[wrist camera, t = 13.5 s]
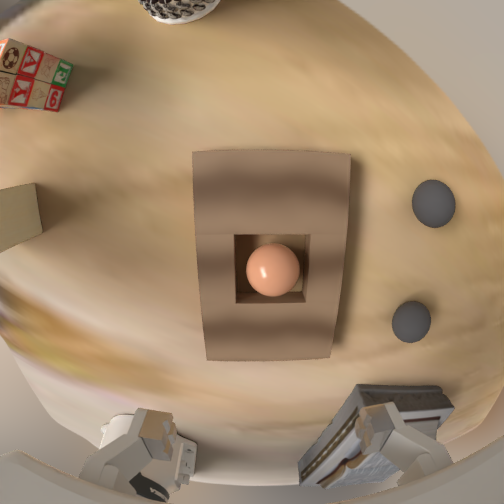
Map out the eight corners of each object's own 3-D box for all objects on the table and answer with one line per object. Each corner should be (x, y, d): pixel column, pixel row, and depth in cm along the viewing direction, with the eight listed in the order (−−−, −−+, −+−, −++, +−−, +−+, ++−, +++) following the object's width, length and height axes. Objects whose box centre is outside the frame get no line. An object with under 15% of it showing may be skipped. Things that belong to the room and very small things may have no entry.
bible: (451, 387, 37) (474, 421, 28) (364, 466, 45) (374, 499, 35) (370, 364, 34) (395, 415, 24) (276, 458, 41) (278, 500, 32)
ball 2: (435, 222, 27) (460, 233, 22) (401, 221, 27) (426, 232, 22) (439, 180, 26) (466, 185, 21) (405, 175, 26) (431, 179, 21)
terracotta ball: (293, 282, 30) (302, 304, 25) (245, 284, 29) (247, 306, 25) (295, 237, 28) (306, 251, 23) (245, 237, 28) (246, 252, 23)
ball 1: (413, 326, 32) (430, 347, 27) (382, 330, 32) (397, 353, 27) (422, 293, 30) (443, 311, 25) (390, 295, 30) (409, 316, 25)
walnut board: (325, 345, 32) (329, 357, 30) (209, 347, 32) (207, 360, 30) (342, 154, 25) (350, 154, 23) (197, 152, 25) (192, 151, 23)
